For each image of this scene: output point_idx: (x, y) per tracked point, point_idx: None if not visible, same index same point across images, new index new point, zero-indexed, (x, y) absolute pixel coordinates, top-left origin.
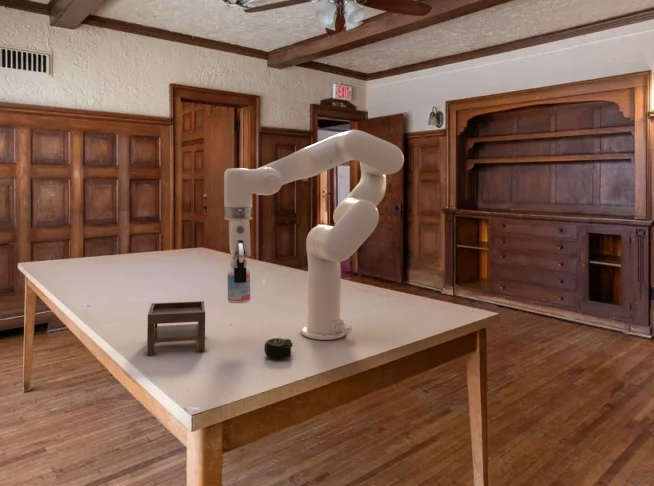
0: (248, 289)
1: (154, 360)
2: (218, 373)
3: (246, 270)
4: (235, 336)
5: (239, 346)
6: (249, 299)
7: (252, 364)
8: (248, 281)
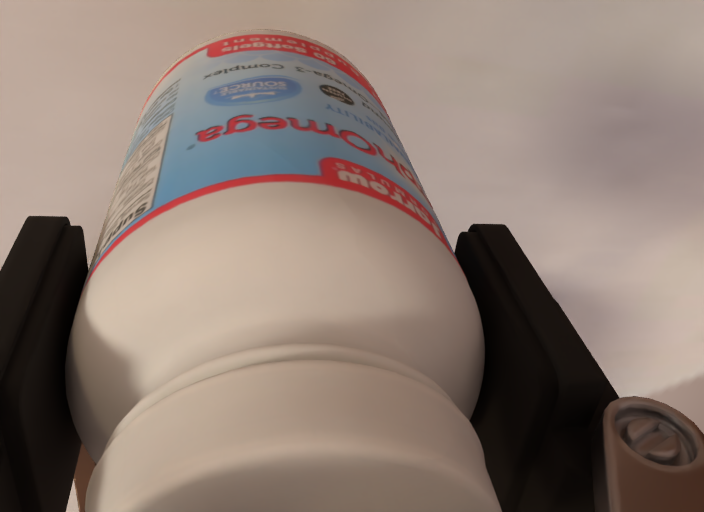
0: (381, 118)
1: None
2: (679, 198)
3: (447, 308)
4: (112, 33)
5: (342, 41)
6: (338, 54)
7: (665, 19)
8: (403, 168)
